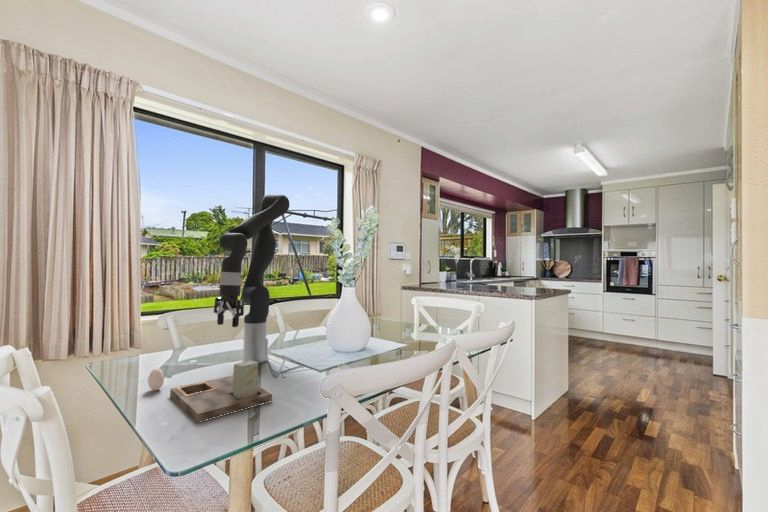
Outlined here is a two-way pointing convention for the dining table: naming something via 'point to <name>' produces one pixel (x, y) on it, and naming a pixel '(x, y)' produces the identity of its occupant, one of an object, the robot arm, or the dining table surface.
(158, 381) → the egg
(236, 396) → the skincare box
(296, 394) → the dining table surface
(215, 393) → the socket board
